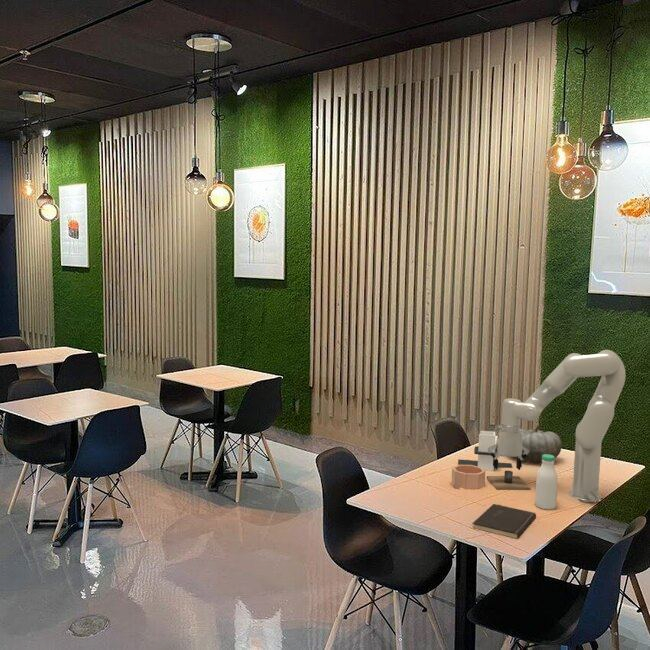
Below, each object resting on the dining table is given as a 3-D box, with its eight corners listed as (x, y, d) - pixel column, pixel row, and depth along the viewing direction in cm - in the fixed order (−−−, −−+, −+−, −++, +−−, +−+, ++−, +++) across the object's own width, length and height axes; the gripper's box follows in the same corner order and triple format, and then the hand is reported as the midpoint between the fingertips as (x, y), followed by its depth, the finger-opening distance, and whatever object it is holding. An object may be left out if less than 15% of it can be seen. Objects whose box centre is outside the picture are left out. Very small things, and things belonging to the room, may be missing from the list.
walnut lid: (530, 490, 267) (531, 477, 266) (496, 490, 266) (497, 477, 266) (518, 478, 281) (519, 466, 280) (486, 477, 280) (487, 465, 280)
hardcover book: (472, 529, 229) (472, 523, 229) (493, 509, 248) (493, 503, 248) (517, 540, 220) (518, 533, 220) (535, 519, 240) (536, 513, 240)
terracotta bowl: (487, 491, 267) (488, 474, 266) (456, 490, 266) (457, 474, 266) (478, 480, 279) (479, 464, 279) (449, 480, 279) (450, 464, 278)
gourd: (543, 466, 294) (541, 427, 295) (495, 462, 312) (494, 425, 314) (571, 461, 310) (569, 424, 312) (524, 458, 329) (522, 423, 330)
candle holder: (458, 459, 310) (459, 425, 309) (511, 463, 305) (512, 428, 304) (457, 474, 286) (459, 437, 285) (515, 479, 281) (517, 441, 280)
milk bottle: (556, 511, 246) (558, 459, 244) (534, 508, 249) (537, 457, 247) (556, 504, 254) (559, 454, 252) (535, 501, 256) (538, 451, 254)
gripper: (492, 430, 267) (489, 470, 269) (534, 431, 268) (530, 472, 270) (487, 425, 275) (483, 464, 277) (527, 427, 276) (524, 466, 278)
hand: (506, 468), depth 273 cm, fingers open, 9 cm apart
